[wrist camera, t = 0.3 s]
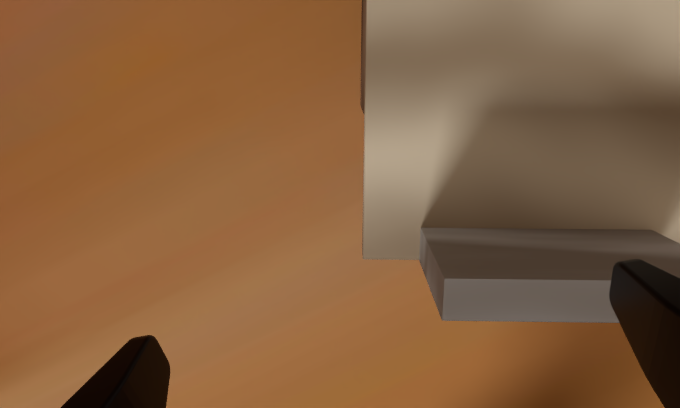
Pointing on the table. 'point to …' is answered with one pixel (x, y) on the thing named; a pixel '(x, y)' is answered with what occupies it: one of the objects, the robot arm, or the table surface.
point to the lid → (522, 149)
